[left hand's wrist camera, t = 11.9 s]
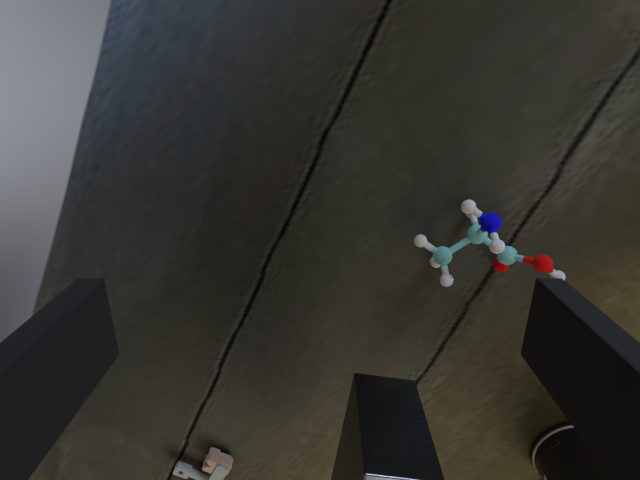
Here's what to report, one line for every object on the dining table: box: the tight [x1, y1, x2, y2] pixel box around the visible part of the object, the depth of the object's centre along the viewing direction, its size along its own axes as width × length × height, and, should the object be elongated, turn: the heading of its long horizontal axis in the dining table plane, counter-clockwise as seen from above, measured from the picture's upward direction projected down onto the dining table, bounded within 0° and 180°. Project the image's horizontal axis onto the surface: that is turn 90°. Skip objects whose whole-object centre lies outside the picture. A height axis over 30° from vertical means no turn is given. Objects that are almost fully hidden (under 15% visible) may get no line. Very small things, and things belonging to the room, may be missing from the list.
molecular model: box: [414, 200, 566, 287], centre depth 39 cm, size 12×10×10 cm
